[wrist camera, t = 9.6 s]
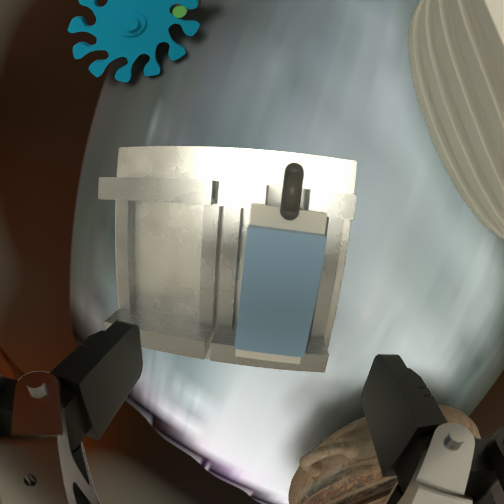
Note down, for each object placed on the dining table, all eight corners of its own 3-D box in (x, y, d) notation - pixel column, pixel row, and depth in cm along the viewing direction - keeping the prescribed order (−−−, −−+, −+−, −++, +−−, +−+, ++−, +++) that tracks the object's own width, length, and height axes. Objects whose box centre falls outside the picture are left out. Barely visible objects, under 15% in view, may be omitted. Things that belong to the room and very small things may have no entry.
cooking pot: (474, 424, 23) (510, 486, 12) (359, 497, 28) (369, 562, 16) (392, 309, 21) (466, 407, 9) (230, 425, 25) (206, 527, 13)
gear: (96, 105, 18) (47, 7, 10) (108, 82, 21) (70, 1, 13) (230, 52, 18) (197, -59, 10) (218, 39, 21) (191, -49, 13)
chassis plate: (126, 148, 20) (93, 142, 16) (352, 162, 19) (372, 156, 15) (128, 334, 24) (103, 360, 19) (320, 363, 23) (327, 397, 18)
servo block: (261, 164, 19) (255, 156, 14) (322, 172, 18) (336, 167, 13) (243, 326, 21) (232, 363, 16) (296, 333, 21) (300, 372, 16)
